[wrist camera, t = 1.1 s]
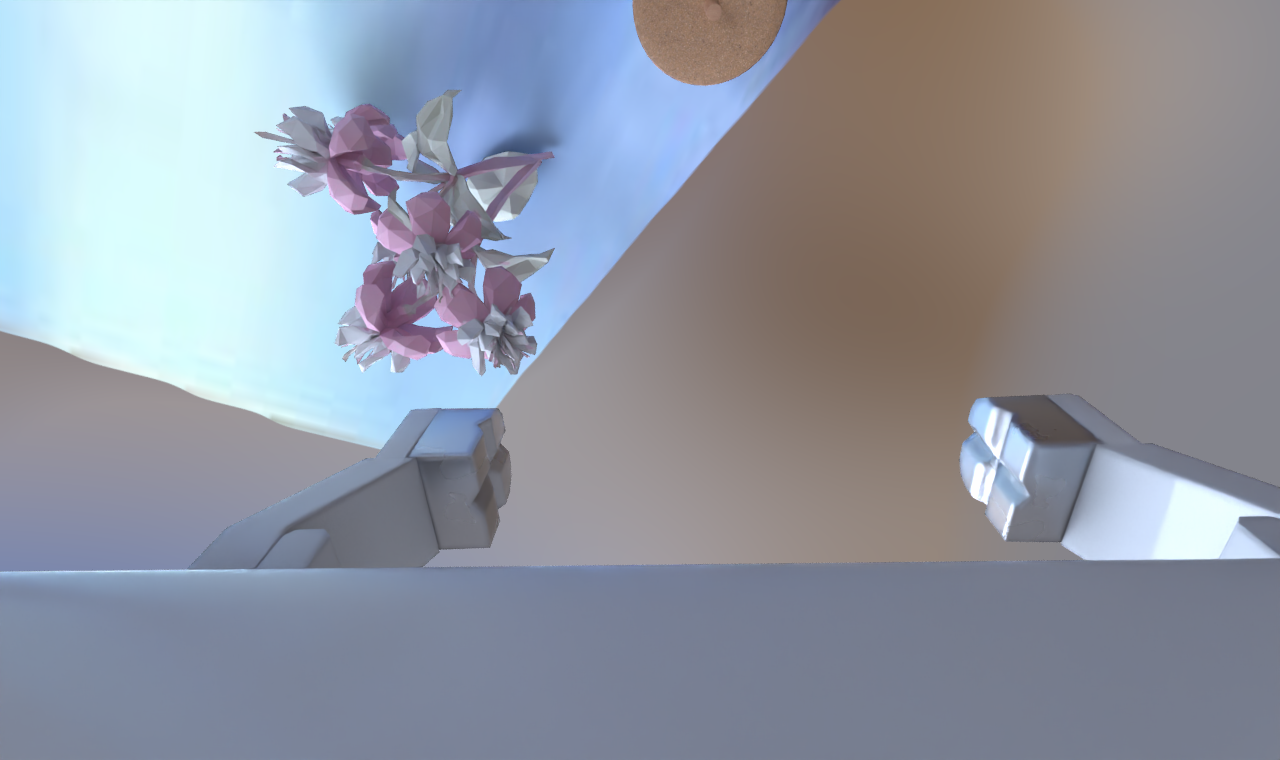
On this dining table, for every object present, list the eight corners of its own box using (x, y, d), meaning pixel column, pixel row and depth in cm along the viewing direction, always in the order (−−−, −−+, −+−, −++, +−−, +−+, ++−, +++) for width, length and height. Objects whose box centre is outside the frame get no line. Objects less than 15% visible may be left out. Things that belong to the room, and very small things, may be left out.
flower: (466, -70, 43) (214, 134, 30) (650, 180, 55) (525, 401, 42) (351, 61, 56) (145, 240, 44) (519, 238, 68) (395, 418, 56)
